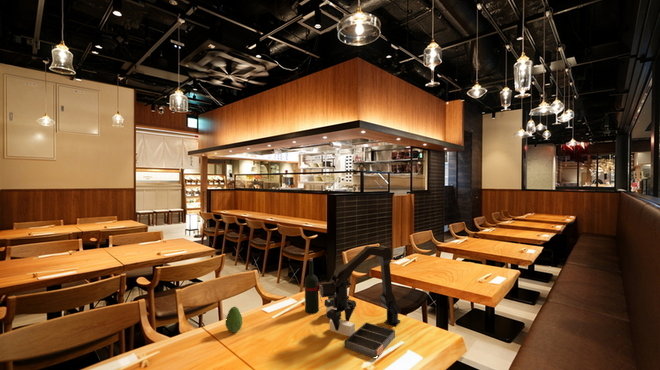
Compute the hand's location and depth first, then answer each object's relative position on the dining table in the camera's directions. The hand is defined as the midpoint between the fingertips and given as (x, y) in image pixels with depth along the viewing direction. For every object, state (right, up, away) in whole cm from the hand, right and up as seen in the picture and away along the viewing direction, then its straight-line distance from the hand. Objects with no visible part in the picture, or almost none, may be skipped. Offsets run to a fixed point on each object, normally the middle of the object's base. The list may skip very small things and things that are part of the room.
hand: (342, 326), depth 140 cm
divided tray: (+13, -2, -10) cm, 16 cm away
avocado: (-54, -4, +2) cm, 54 cm away
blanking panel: (0, -3, 0) cm, 3 cm away
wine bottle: (-15, -3, +24) cm, 28 cm away
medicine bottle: (-4, -3, +17) cm, 18 cm away
